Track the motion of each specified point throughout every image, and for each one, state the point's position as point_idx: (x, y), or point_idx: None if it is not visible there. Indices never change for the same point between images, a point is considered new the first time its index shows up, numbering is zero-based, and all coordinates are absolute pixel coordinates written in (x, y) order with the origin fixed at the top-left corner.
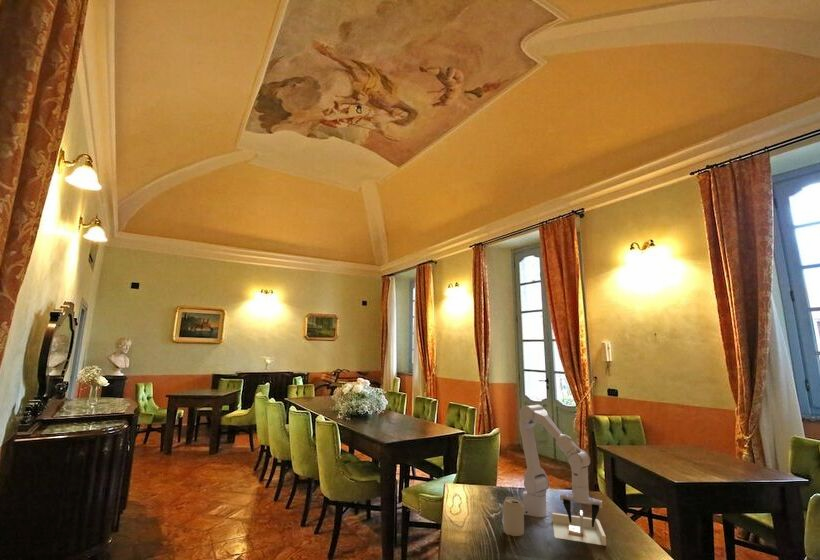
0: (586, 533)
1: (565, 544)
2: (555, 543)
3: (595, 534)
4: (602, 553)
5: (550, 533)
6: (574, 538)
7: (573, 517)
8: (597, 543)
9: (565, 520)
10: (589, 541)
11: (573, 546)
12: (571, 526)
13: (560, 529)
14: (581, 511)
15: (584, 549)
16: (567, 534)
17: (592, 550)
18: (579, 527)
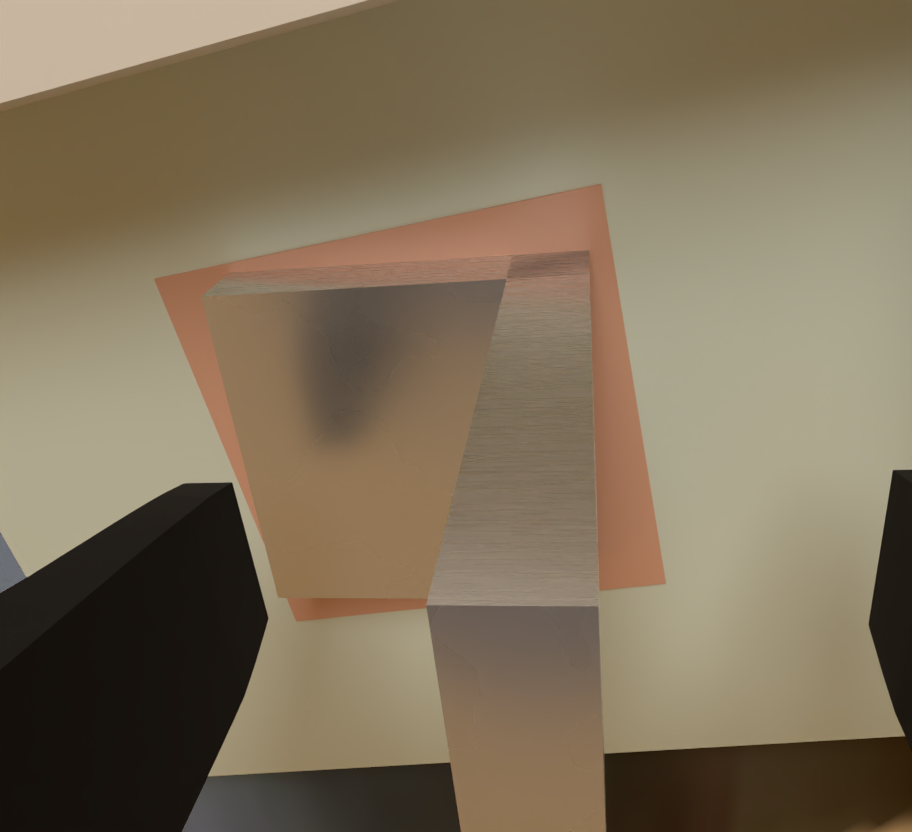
0: (665, 382)
1: (331, 781)
2: (200, 802)
3: (906, 326)
4: (907, 824)
5: (11, 560)
6: (435, 699)
7: (200, 47)
8: (876, 707)
9: (26, 100)
10: (717, 696)
11: (450, 791)
12: (281, 381)
13: (104, 471)
14: (529, 743)
15: (618, 811)
16: (286, 612)
17: (746, 799)
18: (481, 331)
